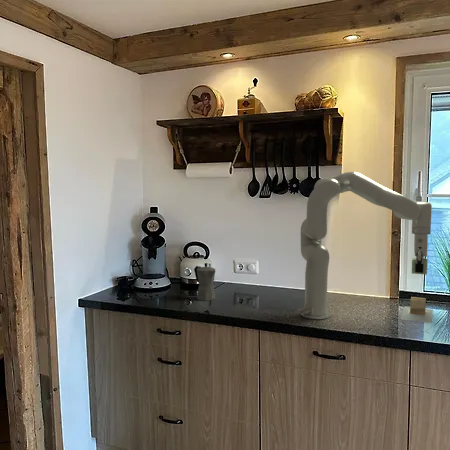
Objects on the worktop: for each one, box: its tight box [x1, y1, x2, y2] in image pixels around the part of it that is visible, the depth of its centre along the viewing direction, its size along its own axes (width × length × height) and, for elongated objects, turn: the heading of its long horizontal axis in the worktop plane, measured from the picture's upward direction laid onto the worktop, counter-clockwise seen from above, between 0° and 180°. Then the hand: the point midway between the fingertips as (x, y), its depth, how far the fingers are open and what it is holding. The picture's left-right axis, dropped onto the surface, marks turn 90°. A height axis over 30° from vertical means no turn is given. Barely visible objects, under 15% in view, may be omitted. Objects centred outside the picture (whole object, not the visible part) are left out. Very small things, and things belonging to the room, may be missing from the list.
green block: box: [411, 257, 428, 276], centre depth 194 cm, size 6×6×6 cm
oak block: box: [409, 296, 427, 315], centre depth 196 cm, size 6×6×6 cm
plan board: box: [400, 306, 434, 324], centre depth 194 cm, size 22×12×1 cm, turn 154°
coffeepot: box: [193, 262, 217, 302], centre depth 222 cm, size 15×9×18 cm, turn 44°
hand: (419, 270), depth 195 cm, fingers closed on green block, 6 cm apart
